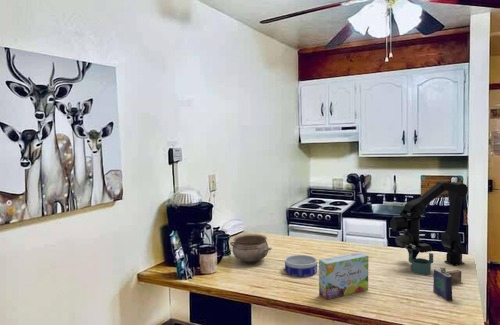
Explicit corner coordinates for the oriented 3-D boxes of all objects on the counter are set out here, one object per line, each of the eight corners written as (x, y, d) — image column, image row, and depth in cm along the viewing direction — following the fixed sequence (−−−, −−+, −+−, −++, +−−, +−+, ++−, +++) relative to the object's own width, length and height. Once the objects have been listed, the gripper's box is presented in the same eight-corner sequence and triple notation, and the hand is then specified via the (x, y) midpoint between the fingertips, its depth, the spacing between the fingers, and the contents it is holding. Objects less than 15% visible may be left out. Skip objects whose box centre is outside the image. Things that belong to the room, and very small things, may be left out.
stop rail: (457, 280, 165) (457, 269, 165) (461, 282, 164) (461, 271, 163) (435, 285, 162) (435, 273, 162) (438, 286, 160) (438, 275, 160)
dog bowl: (293, 264, 194) (292, 252, 194) (321, 269, 186) (321, 256, 186) (279, 274, 181) (279, 262, 181) (310, 279, 173) (309, 266, 173)
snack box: (326, 300, 151) (325, 263, 150) (318, 295, 156) (317, 259, 155) (369, 290, 159) (368, 254, 158) (360, 285, 164) (359, 251, 163)
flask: (431, 291, 156) (431, 263, 155) (438, 290, 157) (439, 263, 156) (447, 301, 146) (447, 272, 145) (455, 301, 147) (455, 271, 146)
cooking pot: (220, 263, 199) (219, 240, 198) (241, 253, 215) (240, 231, 214) (262, 271, 186) (261, 246, 185) (280, 259, 201) (279, 236, 201)
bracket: (434, 272, 176) (434, 253, 176) (422, 276, 172) (422, 257, 171) (418, 266, 184) (418, 249, 183) (405, 270, 180) (405, 252, 179)
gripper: (385, 226, 188) (386, 257, 190) (412, 236, 170) (412, 270, 172) (405, 224, 191) (404, 254, 193) (432, 233, 174) (432, 266, 175)
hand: (412, 261), depth 183 cm, fingers closed
